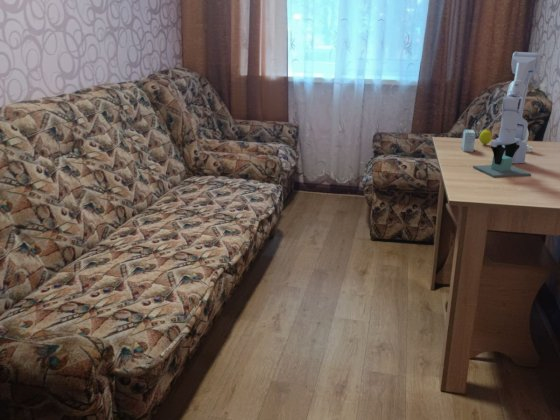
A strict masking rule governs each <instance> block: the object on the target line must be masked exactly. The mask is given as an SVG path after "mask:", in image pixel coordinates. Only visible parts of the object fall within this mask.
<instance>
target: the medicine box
mask: <svg viewBox="0 0 560 420" xmlns="http://www.w3.org/2000/svg"><path fill="white" fill-rule="evenodd" d="M476 136H477V135H476V132H475V130H473V129H463V132H462V139H461V149H462V150H463V151H462V152H467V153H474V149H475V141H476Z"/></svg>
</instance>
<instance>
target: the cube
mask: <svg viewBox="0 0 560 420" xmlns="http://www.w3.org/2000/svg"><path fill="white" fill-rule="evenodd" d="M512 159H513V158H512V157H508V156H505V155H503V157H502V161H501V164H500V165H498V164H495V161H494V155H493V156H492V161H491V165H492V167H491V168H492V169H495V170H498V171H501V172H503V171H509V170H510V169H511V166H512V164H513V163H512Z"/></svg>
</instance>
